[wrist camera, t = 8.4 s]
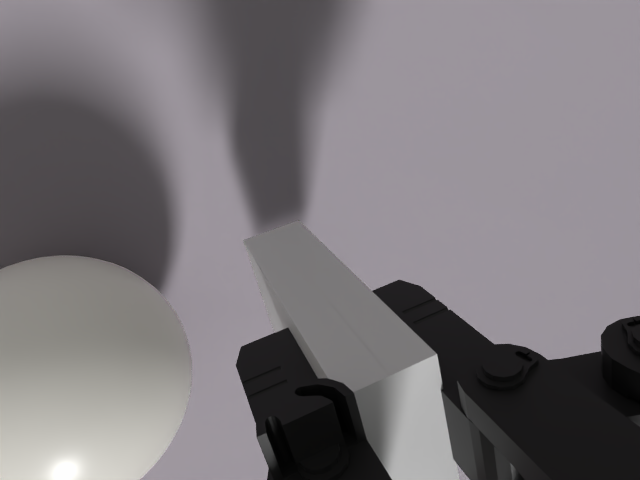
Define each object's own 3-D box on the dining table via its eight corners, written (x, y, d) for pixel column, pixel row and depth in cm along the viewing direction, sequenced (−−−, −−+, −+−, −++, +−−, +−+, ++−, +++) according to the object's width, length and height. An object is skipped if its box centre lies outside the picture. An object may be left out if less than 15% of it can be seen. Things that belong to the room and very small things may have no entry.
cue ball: (-208, 420, 7) (-139, 293, 11) (-5, 653, 9) (-15, 470, 13) (178, 247, 9) (109, 199, 14) (261, 464, 11) (178, 362, 16)
